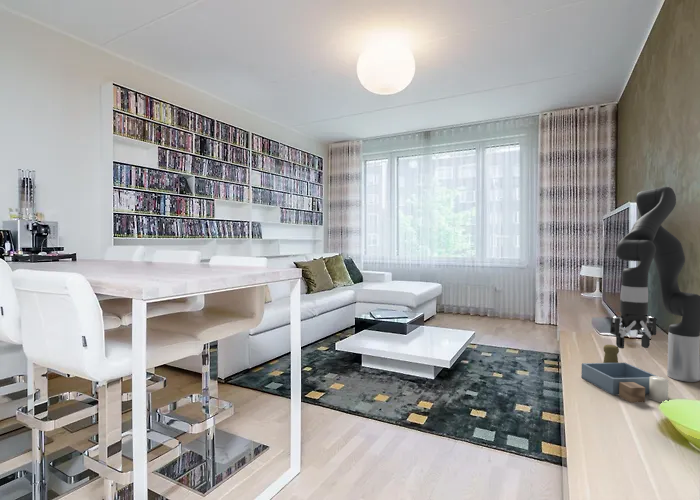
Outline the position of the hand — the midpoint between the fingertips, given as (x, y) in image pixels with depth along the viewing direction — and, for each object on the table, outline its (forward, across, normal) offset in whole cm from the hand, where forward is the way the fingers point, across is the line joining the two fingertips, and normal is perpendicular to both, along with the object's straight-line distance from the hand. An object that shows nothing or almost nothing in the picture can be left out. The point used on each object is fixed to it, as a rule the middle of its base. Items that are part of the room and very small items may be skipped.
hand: (632, 347), depth 131 cm
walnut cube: (+18, 0, 0) cm, 18 cm away
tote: (+18, -5, -12) cm, 22 cm away
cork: (+18, -12, -26) cm, 33 cm away
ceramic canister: (+18, -9, +1) cm, 20 cm away
